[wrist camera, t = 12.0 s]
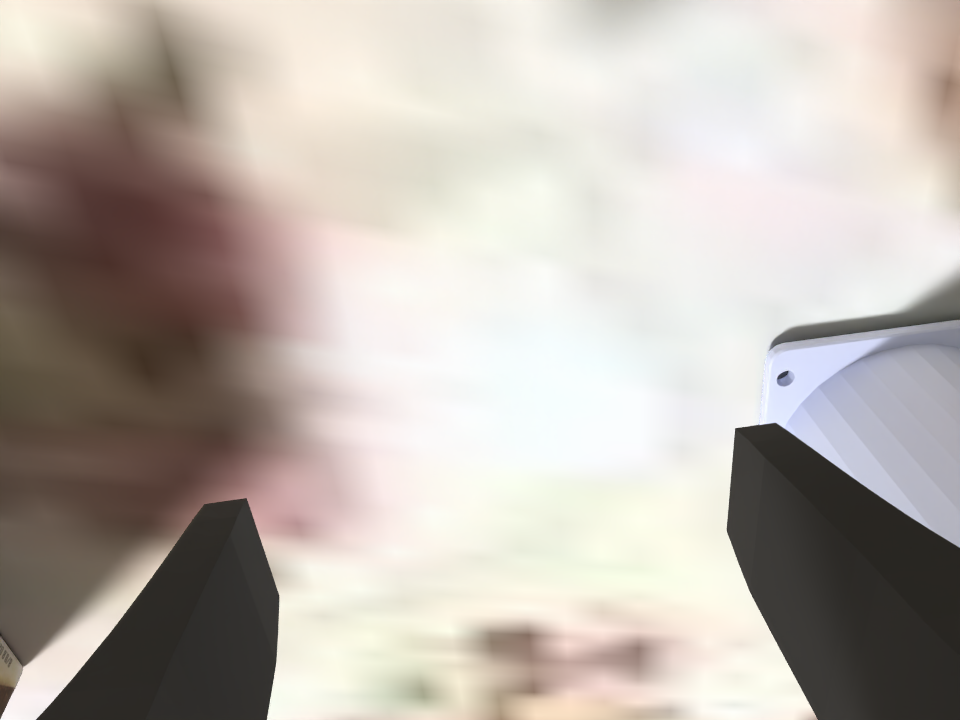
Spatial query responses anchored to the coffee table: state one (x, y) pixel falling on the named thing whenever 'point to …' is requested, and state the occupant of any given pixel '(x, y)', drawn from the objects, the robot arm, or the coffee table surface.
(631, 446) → the coffee table surface
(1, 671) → the coffee box
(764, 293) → the coffee table surface
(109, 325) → the coffee table surface
